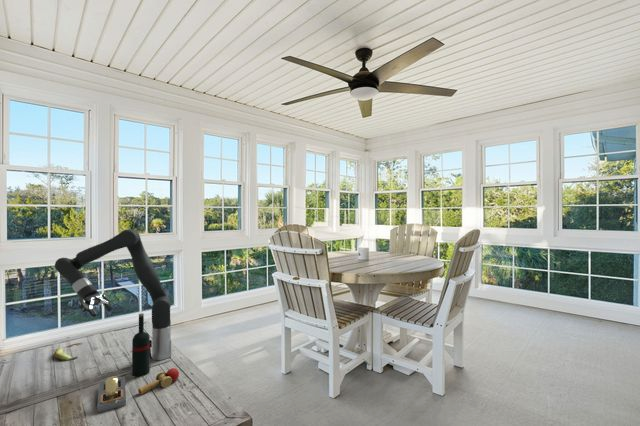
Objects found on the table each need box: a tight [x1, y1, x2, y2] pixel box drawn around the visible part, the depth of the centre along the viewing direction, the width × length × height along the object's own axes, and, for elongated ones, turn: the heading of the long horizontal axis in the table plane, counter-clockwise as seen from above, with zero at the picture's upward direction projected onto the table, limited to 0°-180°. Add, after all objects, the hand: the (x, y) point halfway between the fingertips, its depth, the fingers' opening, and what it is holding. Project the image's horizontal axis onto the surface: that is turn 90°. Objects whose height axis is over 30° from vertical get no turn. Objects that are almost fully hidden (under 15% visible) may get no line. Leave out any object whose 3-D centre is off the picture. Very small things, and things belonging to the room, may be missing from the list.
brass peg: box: [104, 375, 119, 401], centre depth 137 cm, size 4×4×10 cm
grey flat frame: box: [96, 376, 127, 414], centre depth 141 cm, size 10×22×3 cm, turn 33°
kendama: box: [137, 367, 180, 396], centre depth 149 cm, size 8×6×18 cm
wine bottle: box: [131, 313, 153, 378], centre depth 162 cm, size 8×10×30 cm
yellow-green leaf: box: [46, 342, 83, 371], centre depth 179 cm, size 35×27×4 cm
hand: (103, 313), depth 160 cm, fingers open, 8 cm apart
